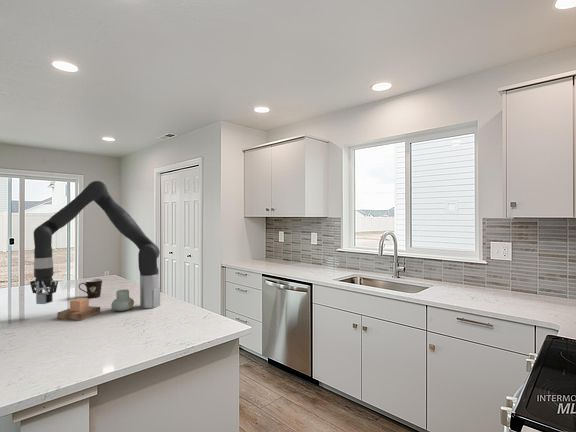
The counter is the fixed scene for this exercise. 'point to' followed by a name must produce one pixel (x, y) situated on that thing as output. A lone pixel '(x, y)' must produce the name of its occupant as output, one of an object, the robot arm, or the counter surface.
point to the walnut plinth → (78, 314)
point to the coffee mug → (93, 288)
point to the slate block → (42, 298)
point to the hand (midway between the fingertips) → (44, 301)
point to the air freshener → (122, 301)
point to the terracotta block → (79, 304)
